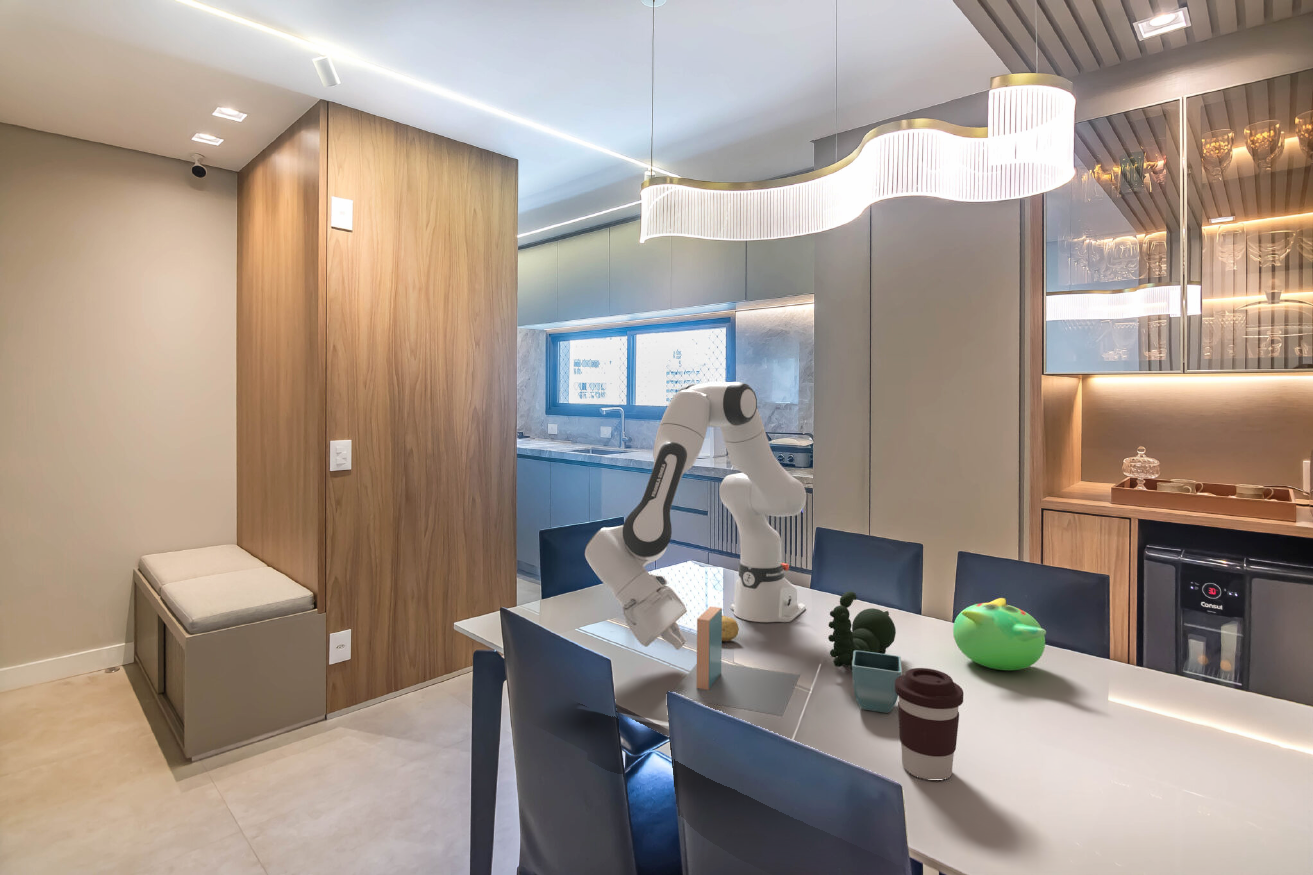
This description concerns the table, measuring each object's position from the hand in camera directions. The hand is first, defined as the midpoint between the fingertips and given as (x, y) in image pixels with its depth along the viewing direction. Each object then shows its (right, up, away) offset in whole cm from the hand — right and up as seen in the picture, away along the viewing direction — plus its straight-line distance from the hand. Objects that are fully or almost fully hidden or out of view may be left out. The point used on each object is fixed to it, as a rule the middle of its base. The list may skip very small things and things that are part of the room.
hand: (682, 645), depth 137 cm
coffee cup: (+37, -9, -34) cm, 51 cm away
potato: (+10, -6, +24) cm, 26 cm away
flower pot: (+37, -8, -12) cm, 39 cm away
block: (+5, -6, -2) cm, 9 cm away
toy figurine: (+41, -7, +10) cm, 43 cm away
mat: (+11, -7, -4) cm, 14 cm away
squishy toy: (+70, -7, +8) cm, 71 cm away
